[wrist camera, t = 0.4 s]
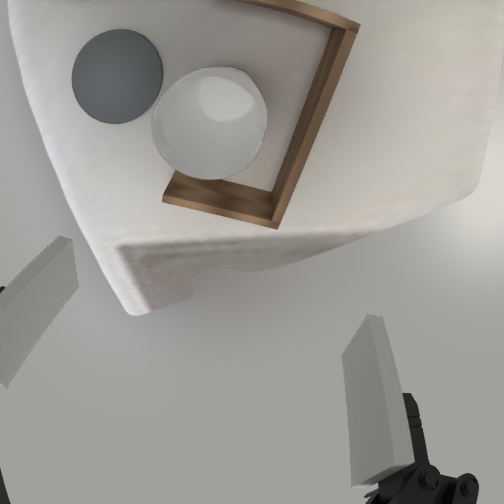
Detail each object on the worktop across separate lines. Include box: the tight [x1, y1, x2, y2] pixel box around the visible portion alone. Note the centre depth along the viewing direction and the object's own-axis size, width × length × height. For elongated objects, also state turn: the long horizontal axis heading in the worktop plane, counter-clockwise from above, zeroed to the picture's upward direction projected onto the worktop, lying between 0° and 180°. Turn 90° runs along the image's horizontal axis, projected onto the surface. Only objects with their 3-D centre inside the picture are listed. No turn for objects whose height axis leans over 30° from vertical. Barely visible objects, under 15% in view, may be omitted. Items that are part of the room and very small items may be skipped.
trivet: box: [72, 30, 163, 124], centre depth 28 cm, size 12×12×1 cm
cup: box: [152, 67, 267, 180], centre depth 26 cm, size 9×9×12 cm
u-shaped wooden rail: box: [162, 0, 360, 230], centre depth 28 cm, size 14×24×6 cm, turn 165°
